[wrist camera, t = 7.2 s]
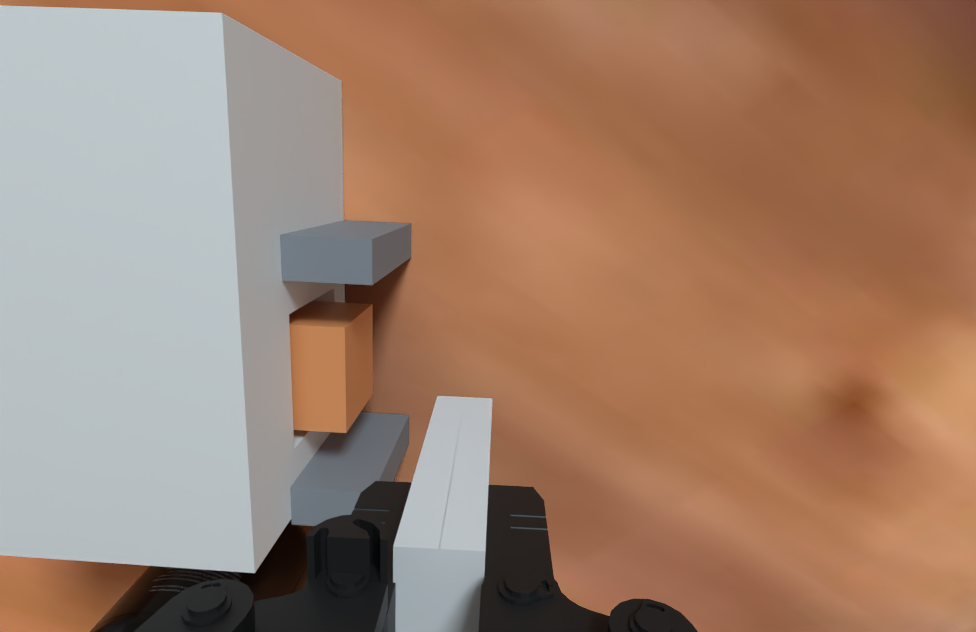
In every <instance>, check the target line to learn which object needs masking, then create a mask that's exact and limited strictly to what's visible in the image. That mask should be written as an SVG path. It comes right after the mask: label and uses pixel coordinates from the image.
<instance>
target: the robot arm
mask: <svg viewBox="0 0 976 632" xmlns="http://www.w3.org/2000/svg"><path fill="white" fill-rule="evenodd" d="M491 417H492V399H491V398H471V397H450V396H437V399H436V403H435V406H434V409H433V413H432V416H431V420H430V423H429V426H428V430H427V433H426V437H425V440H424V443H423V447H422V450H421V454H420V457H419V460H418V464H417V467H416V471H415V474H414V477H413V481H412V483H409V482H389V481H375V482H373V483H372V484H371V485H370V486H369V487H367V488H366V489H365V490H364V491H362V492H361V493H360V496H359V498H358V500H357V502H356V505H355V507H354V510H353V511H352V514H351V515H341V516H337V517H334V518H330V519H327V520H325V521H323V522H321V523H320V524H318V525H316V526H314V527H313V529H312V530H311V531H310V532H309V533H308V534H307V535H306V545H307V572H308V580H307V582H306V585H305V587H304V589H301V590H299V591H297V592H294V593H291V594H287V595H284V596H280V597H274V598H268V599H263V600H257V601H254V595H253V593H252V591H251V590H250V588H249V587H248V585H246V584H244V583H242V582H240V581H237V580H231V579H216V580H210V581H204V582H202V583H199V584H196V585H194V586H191V587H189V588H186V589H185V590H183V591H182V592H181V593H179V594H178V595H176V596H175V597H173V598H172V599H170V600H169V601H168V602H167V603H166V604H165V605H164V606H163V607H161V608H160V609H159V610H158V611H157V612H156V613H155V614H153V615H152V616H151V617H150V618H149V619H148V620H147V621H145V622H144V623H143V624H142V625H141V626H140V627H139V628H137V629H136V630H135V631H134V632H697V630H696V629H695V628H694V626H693V625H692V624H691V623H690V622H689V621H688V620H687V619H686V618H685V617H684V616H683V615H682V614H681V613H680V612H679V611H677V610H675V609H673V608H672V607H670V606H668V605H666V604H664V603H660V602H657V601H653V600H650V599H631V600H628V601H624V602H621V603H619V604H618V605H617V606H616V607H615V608H614V609H613V610H612V611H611V614H610V616H607V615H604V614H600V613H597V612H594V611H591V610H588V609H586V608H583V607H581V606H579V605H577V604H575V603H574V602H572V601H571V600H569V599H568V598H567V597H566V596H565V595H564V594H563V593H561V591H560V588H559V586H558V583H557V582H556V581H555V580H554V576H553V569H552V561H551V553H550V545H549V537H548V530H547V522H546V514H545V506H544V500H543V499H542V498H541V496H540V495H539V494H538V493H537V492H536V490H535V489H534V488H533V487H520V486H501V485H488V484H489V462H490V440H491Z"/></svg>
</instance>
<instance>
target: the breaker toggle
mask: <svg viewBox="0 0 976 632" xmlns="http://www.w3.org/2000/svg"><path fill="white" fill-rule="evenodd" d="M289 326H290V352H291V378H292V404H293V430H303V431H320V432H336V433H347V431H348V430H349V428H350V427H351V425H352V424H353V423H354V421H355V420H356V418H357V417H358V415H359V414H360V412H361V411H362V409H363V408H364V406H365V405H366V403H367V402H368V400H369V399H370V397H371V396H372V395H373V304H365V303H345V302H326V301H311V302H309V303H308V304H306V305H304V306H302V307H301V308H299V309H297V310H296V311H294V312H292V313H290V314H289Z"/></svg>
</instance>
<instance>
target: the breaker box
mask: <svg viewBox="0 0 976 632" xmlns="http://www.w3.org/2000/svg"><path fill="white" fill-rule="evenodd" d="M410 258H411V223H391V222H369V221H348V220H344V210H343V144H342V81H341V80H339V79H337V78H335V77H334V76H332V75H330V74H328V73H327V72H325V71H323V70H321V69H320V68H318V67H316V66H314V65H313V64H311V63H309V62H307V61H305V60H304V59H302V58H300V57H298V56H297V55H295V54H293V53H291V52H290V51H288V50H286V49H284V48H283V47H281V46H279V45H277V44H276V43H274V42H272V41H270V40H269V39H267V38H265V37H263V36H262V35H260V34H258V33H256V32H255V31H253V30H251V29H249V28H248V27H246V26H244V25H242V24H241V23H239V22H237V21H235V20H234V19H232V18H230V17H228V16H227V15H225V14H223V13H210V12H180V11H150V10H119V9H89V8H59V7H29V6H0V555H5V556H19V557H33V558H48V559H62V560H76V561H90V562H104V563H118V564H132V565H146V566H160V567H175V568H189V569H203V570H217V571H231V572H245V573H255V572H256V571H257V569H258V568H259V566H260V565H261V563H262V562H263V560H264V559H265V557H266V556H267V554H268V553H269V551H270V550H271V548H272V547H273V545H274V544H275V542H276V541H277V539H278V538H279V536H280V535H281V533H282V532H283V530H284V529H285V527H286V526H287V524H288V523H289V521H290V520H292V525H306V526H316V525H318V524H320V523H321V522H323V521H325V520H327V519H330V518H334V517H337V516H341V515H351V514H352V511H353V510H354V507H355V505H356V502H357V500H358V498H359V496H360V493H361V492H362V491H364V490H365V489H366V488H367V487H369V486H370V485H371V484H372V483H373V482H375V481H389V482H393V481H394V479H395V476H396V474H397V471H398V469H399V466H400V464H401V462H402V459H403V457H404V454H405V452H406V449H407V447H408V445H409V415H401V414H384V413H367V412H360V414H359V415H358V417H357V418H356V420H355V421H354V423H353V424H352V425H351V427H350V428H349V430H348V431H347V433H336V432H320V431H303V430H293V404H292V378H291V352H290V326H289V314H290V313H292V312H294V311H296V310H297V309H299V308H301V307H302V306H304V305H306V304H308V303H309V302H311V301H326V302H345V284H358V285H373V284H375V283H376V282H378V281H379V280H380V279H382V278H383V277H385V276H386V275H387V274H389V273H390V272H391V271H393V270H394V269H396V268H397V267H398V266H400V265H401V264H403V263H404V262H405V261H407V260H408V259H410Z"/></svg>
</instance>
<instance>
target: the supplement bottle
mask: <svg viewBox="0 0 976 632" xmlns="http://www.w3.org/2000/svg"><path fill="white" fill-rule="evenodd" d="M216 579H231V580H237V581H240V582H242V583H244V584H246V585H248V587H249V588H250V590H251V591H252V593H253V595H254V601H257V600H263V599H268V598H274V597H280V596H284V595H287V594H291V593H294V592H297V591H299V590H301V589H304V587H305V585H306V582H307V580H308V572H307V545H306V537H305V535H304V534H303V532H302V531H301V529H300V528H299V527H298V526H297V525H292V520H290V521H289V523H288V524H287V526H286V527H285V529H284V530H283V532H282V533H281V535H280V536H279V538H278V539H277V541H276V542H275V544H274V545H273V547H272V548H271V550H270V551H269V553H268V554H267V556H266V557H265V559H264V560H263V562H262V563H261V565H260V566H259V568H258V569H257V571H256V572H255V573H245V572H231V571H217V570H203V569H189V568H175V567H160V566H150V567H149V568H148V569H147V570H146V571H145V572H144V573H143V574H142V576H141V577H140V578H139V579H138V580H137V581H136V582H135V583H134V584H133V585H132V586H131V588H130V589H129V590H128V591H127V592H126V593H125V594H124V595H123V596H122V597H121V598H120V599H119V601H118V602H117V603H116V604H115V605H114V606H113V607H112V608H111V609H110V610H109V611H108V612H107V614H106V615H105V616H104V617H103V618H102V619H101V620H100V621H99V622H98V623H97V624H96V625H95V627H94V628H93V629H92V630H91V631H90V632H134V631H135V630H136V629H137V628H139V627H140V626H141V625H142V624H143V623H144V622H145V621H147V620H148V619H149V618H150V617H151V616H152V615H153V614H155V613H156V612H157V611H158V610H159V609H160V608H161V607H163V606H164V605H165V604H166V603H167V602H168V601H169V600H170V599H172V598H173V597H175V596H176V595H178V594H179V593H181V592H182V591H183V590H185V589H186V588H189V587H191V586H194V585H196V584H199V583H202V582H204V581H210V580H216Z"/></svg>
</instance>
